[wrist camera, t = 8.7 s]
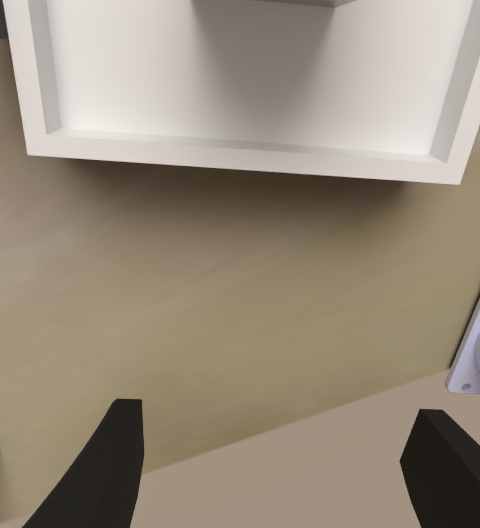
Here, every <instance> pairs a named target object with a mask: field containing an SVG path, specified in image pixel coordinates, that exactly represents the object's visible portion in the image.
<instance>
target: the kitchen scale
mask: <svg viewBox="0 0 480 528" xmlns="http://www.w3.org/2000/svg"><path fill="white" fill-rule="evenodd" d="M0 38H3V39H9V42H10V48H11V55H12V61H13V67H14V73H15V79H16V86H17V92H18V98H19V104H20V110H21V117H22V123H23V129H24V135H25V141H26V148H27V154H28V155H34V156H49V157H63V158H78V159H93V160H107V161H122V162H136V163H151V164H166V165H180V166H195V167H209V168H224V169H238V170H253V171H268V172H282V173H297V174H311V175H326V176H341V177H355V178H370V179H384V180H399V181H414V182H428V183H443V184H457V185H460V182H461V179H462V176H463V173H464V170H465V167H466V164H467V161H468V158H469V155H470V152H471V149H472V146H473V143H474V140H475V137H476V134H477V131H478V128H479V125H480V0H356V1H353V2H350V3H348V4H345V5H342V6H339V7H336V8H333V7H322V6H311V5H300V4H289V3H277V2H266V1H255V0H0Z"/></svg>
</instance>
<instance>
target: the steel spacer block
mask: <svg viewBox="0 0 480 528" xmlns="http://www.w3.org/2000/svg"><path fill="white" fill-rule="evenodd" d="M255 1H266V2H277V3H289V4H300V5H311V6H322V7H333V8H336V7H339V6H342V5H345V4H348V3H350V2H353V1H356V0H255Z"/></svg>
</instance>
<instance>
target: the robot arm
mask: <svg viewBox="0 0 480 528" xmlns="http://www.w3.org/2000/svg"><path fill="white" fill-rule="evenodd" d="M464 384H465V385H464ZM445 386H446V388H447V389H448V391H450V392H451V393H467V394H468V393H469V394H480V298H479V301H478V303H477V306H476V308H475V311H474V313H473V315H472V318H471V320H470V323H469V325H468V328H467V330H466V333H465V335H464V337H463V340H462V342H461V345H460V347H459V350H458V352H457V354H456V357H455V359H454V362H453V364H452V367H451V369H450V372H449V374H448V376H447V379H446V381H445ZM143 459H144V438H143V416H142V400H141V399H116V400H115V401H113V403H112V404H111V406H110V408H109V410H108V411H107V413H106V415H105V416H104V418H103V420H102V421H101V423H100V424H99V426H98V427H97V429H96V430H95V432H94V434H93V435H92V436H91V438H90V439H89V441H88V442H87V444H86V445H85V447H84V448H83V450H82V451H81V452H80V454H79V455H78V457H77V458H76V459H75V461H74V462H73V464H72V465H71V466H70V468H69V469H68V470H67V472H66V473H65V475H64V476H63V477H62V479H61V480H60V481H59V483H58V484H57V485H56V486H55V488H54V489H53V490H52V491H51V493H50V494H49V495H48V496H47V498H46V499H45V500H44V501H43V503H42V504H41V505H40V506H39V508H38V509H37V510H36V512H35V513H34V514H33V515H32V516H31V518H30V519H29V520H28V521H27V522H26V524H25V525H24V526H23V527H22V528H130V524H131V520H132V516H133V512H134V509H135V504H136V501H137V497H138V491H139V484H140V478H141V472H142V466H143ZM400 464H401V468H402V471H403V475H404V479H405V483H406V486H407V490H408V493H409V496H410V500H411V503H412V505H413V508H414V510H415V513H416V515H417V518H418V520H419V522H420V525H421V528H480V445H478V444H477V442H476V441H475V440H473V439H472V438H471V437H470V436H469V435H468V434H467V433H466V432H465V431H464V430H463V429H462V428H461V427H460V426H459V425H458V424H457V423H456V422H455V421H454V420H453V419H452V418H451V417H450V416H449V415H447V414H446V413H445V412H444V411H443V410H433V409H420V410H419V412H418V415H417V417H416V420H415V423H414V425H413V428H412V430H411V433H410V436H409V438H408V441H407V443H406V446H405V448H404V451H403V454H402V456H401V459H400Z"/></svg>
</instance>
